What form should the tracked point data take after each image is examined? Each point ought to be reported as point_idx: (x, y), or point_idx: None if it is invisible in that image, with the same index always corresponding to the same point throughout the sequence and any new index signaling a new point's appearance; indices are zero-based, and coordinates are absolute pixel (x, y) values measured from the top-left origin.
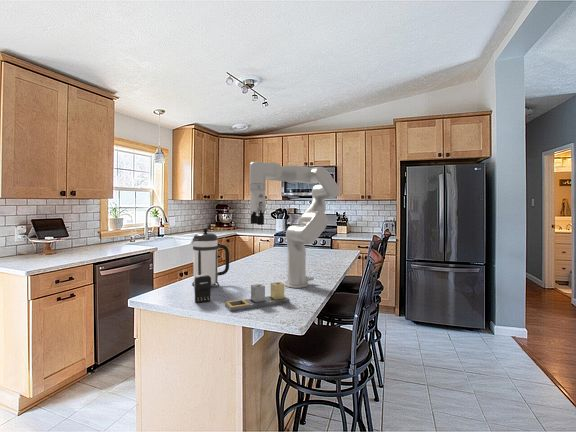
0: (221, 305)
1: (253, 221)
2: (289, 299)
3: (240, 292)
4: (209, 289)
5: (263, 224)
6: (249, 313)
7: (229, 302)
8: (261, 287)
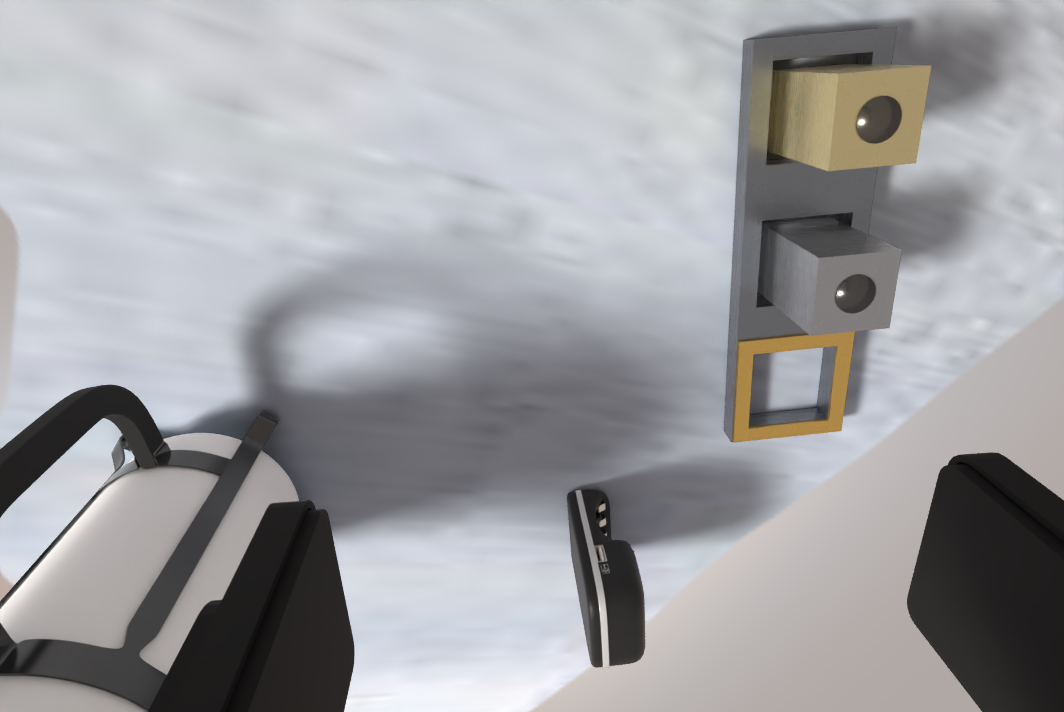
0: (703, 445)
1: (332, 656)
2: (895, 29)
3: (469, 297)
4: (602, 535)
5: (986, 459)
6: (910, 337)
7: (747, 421)
8: (894, 275)
